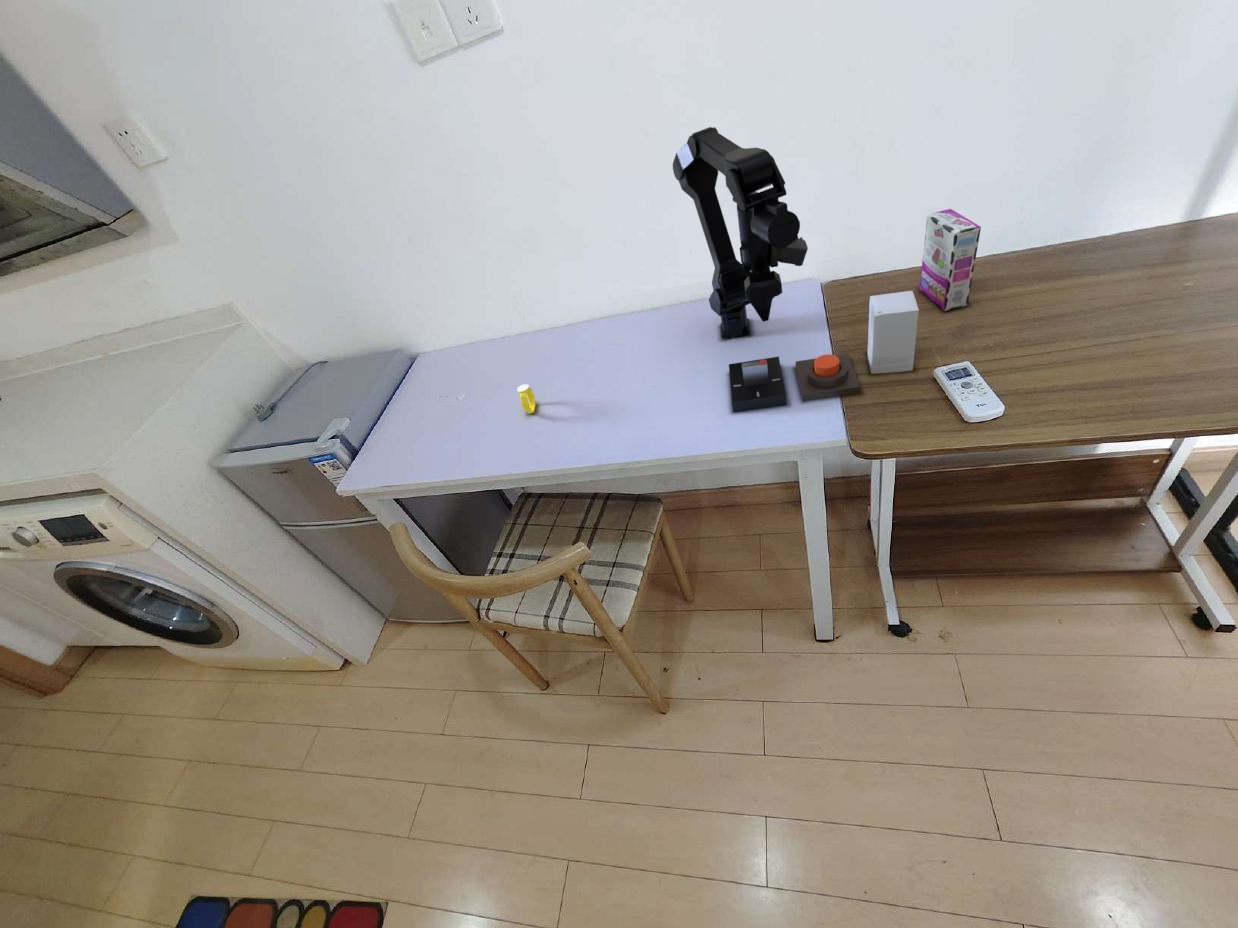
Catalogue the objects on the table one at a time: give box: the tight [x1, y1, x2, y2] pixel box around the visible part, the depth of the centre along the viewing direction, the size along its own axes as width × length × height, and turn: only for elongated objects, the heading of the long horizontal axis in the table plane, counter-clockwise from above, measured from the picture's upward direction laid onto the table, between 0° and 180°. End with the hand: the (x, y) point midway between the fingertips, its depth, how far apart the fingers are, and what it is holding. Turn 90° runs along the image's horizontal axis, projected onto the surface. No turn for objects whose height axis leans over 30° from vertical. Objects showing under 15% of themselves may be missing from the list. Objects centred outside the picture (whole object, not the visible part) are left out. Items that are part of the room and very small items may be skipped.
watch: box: [516, 383, 537, 414], centre depth 128 cm, size 6×3×6 cm, turn 1°
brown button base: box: [795, 353, 861, 402], centre depth 110 cm, size 11×10×4 cm
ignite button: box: [814, 353, 839, 377], centre depth 108 cm, size 4×4×2 cm
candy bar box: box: [919, 208, 982, 312], centre depth 116 cm, size 11×5×16 cm, turn 6°
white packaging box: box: [866, 290, 920, 375], centre depth 106 cm, size 7×7×13 cm
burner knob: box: [742, 358, 769, 387], centre depth 110 cm, size 5×2×5 cm, turn 85°
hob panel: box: [728, 356, 788, 413], centre depth 114 cm, size 13×10×3 cm
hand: (763, 308), depth 113 cm, fingers open, 9 cm apart
